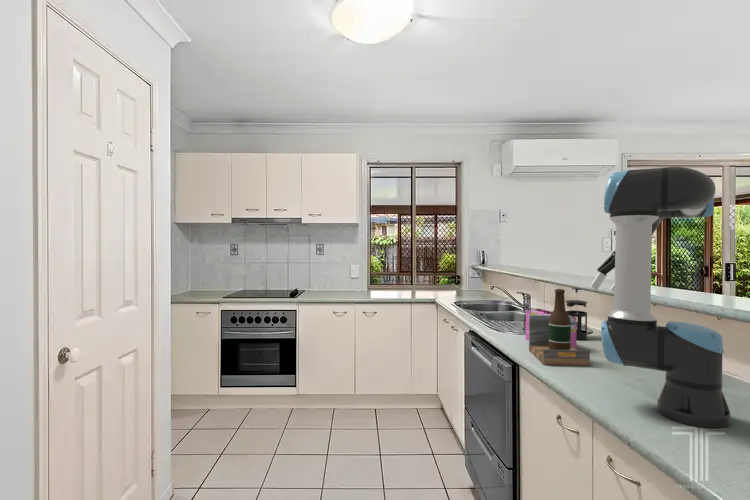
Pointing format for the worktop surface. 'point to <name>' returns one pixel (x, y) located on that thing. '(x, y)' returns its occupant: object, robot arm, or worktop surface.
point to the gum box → (545, 312)
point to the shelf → (541, 345)
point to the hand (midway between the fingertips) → (603, 289)
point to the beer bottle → (559, 324)
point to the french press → (578, 317)
